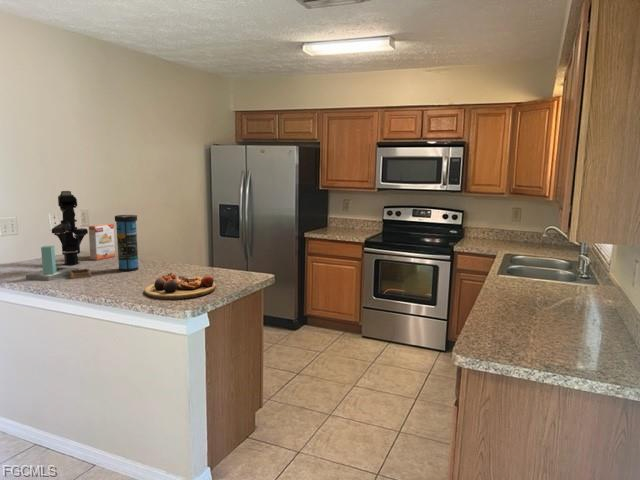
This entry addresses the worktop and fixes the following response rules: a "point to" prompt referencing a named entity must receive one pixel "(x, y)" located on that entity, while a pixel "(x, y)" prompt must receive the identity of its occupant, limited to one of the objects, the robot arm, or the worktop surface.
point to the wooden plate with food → (180, 287)
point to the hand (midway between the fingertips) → (70, 246)
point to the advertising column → (127, 242)
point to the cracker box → (101, 241)
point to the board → (59, 273)
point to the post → (48, 260)
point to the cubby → (80, 273)
